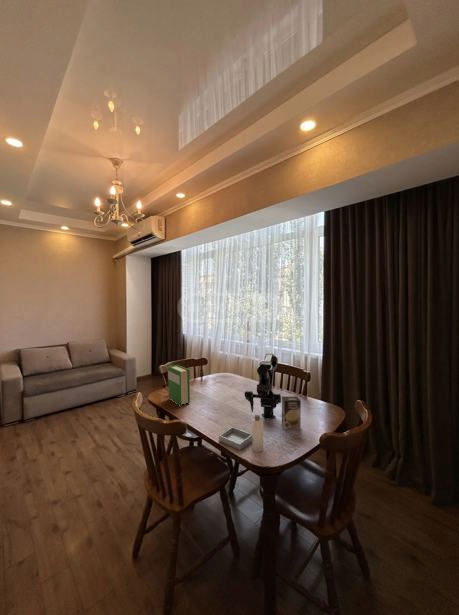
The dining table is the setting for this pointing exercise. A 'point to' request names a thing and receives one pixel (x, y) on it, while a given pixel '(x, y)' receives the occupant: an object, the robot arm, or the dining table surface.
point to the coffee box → (291, 412)
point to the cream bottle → (257, 433)
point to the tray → (235, 438)
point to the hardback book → (179, 384)
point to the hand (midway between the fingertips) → (261, 413)
